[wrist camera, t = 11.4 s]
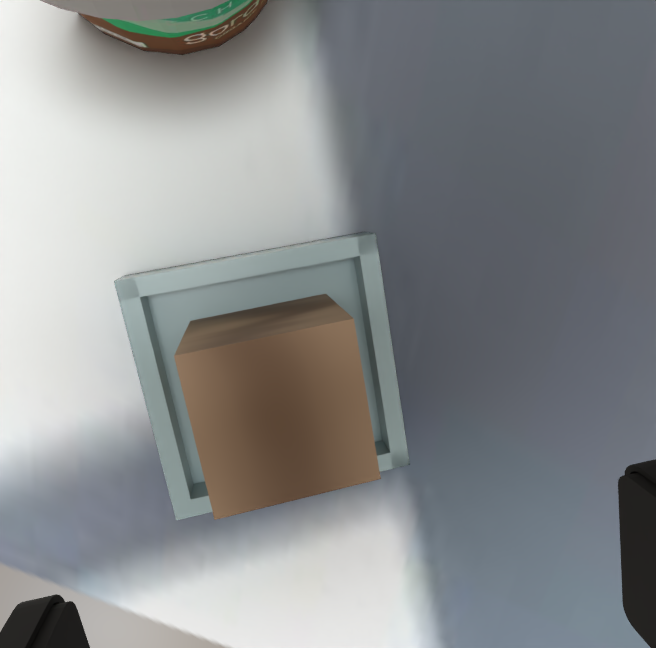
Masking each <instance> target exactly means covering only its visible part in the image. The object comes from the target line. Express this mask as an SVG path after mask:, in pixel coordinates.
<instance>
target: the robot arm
mask: <svg viewBox="0 0 656 648" xmlns="http://www.w3.org/2000/svg"><path fill="white" fill-rule="evenodd" d="M618 493H619V519H620V544H621V570H622V595H623V607H624V611H625V614H626V616H627V618H628V620H629V622H630V623H631V625H632V626H633V628H634V629H635V630H636V631H637V632H638V634H639V635H640V636H641V637H642V638H643V639H644V640H645V642H646V643H647V644H648V645H649V646H650V647H651V648H656V459H655V460H651V461H646V462H642V463H638V464H633V465H630V466H628V467H627V468H626V470H625V475H624V476H622V477H620V479H619V481H618ZM0 648H90V647H89V644H88V640H87V638H86V634H85V632H84V629H83V625H82V622H81V620H80V616H79V613H78V610H77V608H76V606H75V604H74V603H73V602H71V601H69V602H65V601H64V599H63V598H62V597H61V596H60V595H52V596H48V597H43V598H39V599H34V600H30V601H25V602H22V603H20V604H18V605H17V606H16V607H15V609H14V610H13V612H12V614H11V615H10V617H9V618H8V620H7V622H6V623H5V625H4V627H3V628H2V630H1V632H0Z"/></svg>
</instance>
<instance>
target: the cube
mask: <svg viewBox="0 0 656 648" xmlns="http://www.w3.org/2000/svg"><path fill="white" fill-rule="evenodd" d="M174 358H175V362H176V366H177V370H178V375H179V379H180V383H181V387H182V391H183V395H184V399H185V403H186V407H187V411H188V415H189V419H190V423H191V427H192V431H193V435H194V439H195V443H196V447H197V451H198V455H199V459H200V463H201V467H202V471H203V475H204V479H205V483H206V487H207V491H208V495H209V499H210V503H211V507H212V511H213V515H214V519H215V520H216V519H220V518H224V517H228V516H232V515H236V514H240V513H244V512H248V511H252V510H256V509H260V508H264V507H268V506H273V505H277V504H281V503H285V502H289V501H293V500H297V499H301V498H305V497H309V496H313V495H317V494H321V493H325V492H329V491H333V490H337V489H341V488H346V487H350V486H354V485H358V484H362V483H366V482H370V481H374V480H378V479H381V477H380V471H379V465H378V460H377V454H376V448H375V442H374V436H373V430H372V424H371V418H370V412H369V406H368V400H367V394H366V388H365V382H364V376H363V370H362V364H361V358H360V353H359V347H358V341H357V335H356V329H355V323H354V318H353V317H351V316H350V315H349V314H348V313H347V312H346V311H345V310H344V309H343V308H341V307H340V306H339V305H338V304H337V303H336V302H335V301H334V300H332V299H331V298H330V297H329V296H328V295H327V294H321V295H316V296H311V297H306V298H301V299H296V300H291V301H286V302H281V303H276V304H272V305H267V306H262V307H257V308H252V309H247V310H242V311H237V312H232V313H227V314H222V315H217V316H212V317H207V318H202V319H197V320H192V321H190V322H189V324H188V327H187V329H186V331H185V333H184V335H183V337H182V340H181V342H180V344H179V346H178V348H177V350H176V353H175V355H174Z"/></svg>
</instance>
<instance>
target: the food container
mask: <svg viewBox="0 0 656 648" xmlns="http://www.w3.org/2000/svg"><path fill="white" fill-rule="evenodd" d="M41 1H43V2H46V3H48V4H51V5H53V6H56V7H58V8H61V9H65V10H69V11H73V12H77V13H79V14H80V15H81V16H83V17H84V18H85V19H86V20H88V21H89V22H90V23H92V24H93V25H94V26H95V27H97V28H98V29H99V30H101V31H102V32H103V33H104V34H106V35H109V36H111V37H113V38H116V39H118V40H120V41H123V42H125V43H127V44H129V45H132V46H134V47H136V48H139V49H141V50H143V51H151V52H161V53H170V54H180V55H185V54H189V53H193V52H197V51H201V50H206V49H210V48H214V47H218V46H220V45H222V44H223V43H225V42H227V41H228V40H230V39H231V38H233V37H234V36H236V35H238V34H239V33H241V32H242V31H244V30H245V29H246V28H247V27H248V26H249V25H250V24H251V23H252V22H253V21H254V20H255V19H256V17H257V16H258V14H259V13H260V12H261V10H262V9H263V7H264V6H265V5H266V3H267V1H268V0H41Z"/></svg>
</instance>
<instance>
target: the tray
mask: <svg viewBox="0 0 656 648" xmlns="http://www.w3.org/2000/svg"><path fill="white" fill-rule="evenodd" d="M114 283H115V287H116V291H117V294H118V298H119V302H120V306H121V310H122V314H123V318H124V321H125V325H126V329H127V333H128V337H129V341H130V344H131V348H132V352H133V356H134V360H135V364H136V368H137V371H138V375H139V379H140V383H141V387H142V391H143V394H144V398H145V402H146V406H147V410H148V414H149V418H150V421H151V425H152V429H153V433H154V437H155V441H156V445H157V448H158V452H159V456H160V460H161V464H162V468H163V471H164V475H165V479H166V483H167V487H168V491H169V495H170V498H171V502H172V506H173V510H174V514H175V518H176V520H181V519H185V518H189V517H193V516H197V515H201V514H206V513H210V512H213V511H212V507H211V503H210V499H209V495H208V491H207V487H206V483H205V479H204V475H203V471H202V467H201V463H200V459H199V455H198V451H197V447H196V443H195V439H194V435H193V431H192V427H191V423H190V419H189V415H188V411H187V407H186V403H185V399H184V395H183V391H182V387H181V383H180V379H179V375H178V370H177V366H176V362H175V358H174V355H175V353H176V350H177V348H178V346H179V344H180V342H181V340H182V337H183V335H184V333H185V331H186V329H187V327H188V324H189V322H190V321H192V320H197V319H202V318H207V317H212V316H217V315H222V314H227V313H232V312H237V311H242V310H247V309H252V308H257V307H262V306H267V305H272V304H276V303H281V302H286V301H291V300H296V299H301V298H306V297H311V296H316V295H321V294H327V295H328V296H329V297H330V298H331V299H332V300H334V301H335V302H336V303H337V304H338V305H339V306H340V307H341V308H343V309H344V310H345V311H346V312H347V313H348V314H349V315H350V316H351V317H353V318H354V323H355V329H356V335H357V341H358V347H359V353H360V358H361V364H362V370H363V376H364V382H365V388H366V394H367V400H368V406H369V412H370V418H371V424H372V430H373V436H374V442H375V448H376V454H377V460H378V465H379V471H380V472H381V471H385V470H390V469H394V468H398V467H402V466H406V465H410V463H409V456H408V449H407V443H406V436H405V429H404V422H403V416H402V409H401V402H400V395H399V388H398V382H397V375H396V368H395V361H394V355H393V348H392V341H391V334H390V327H389V321H388V314H387V307H386V300H385V294H384V287H383V280H382V273H381V266H380V260H379V253H378V246H377V239H376V233H370V232H361V233H356V234H350V235H345V236H339V237H334V238H328V239H323V240H317V241H312V242H306V243H301V244H295V245H290V246H284V247H279V248H273V249H268V250H262V251H257V252H252V253H246V254H241V255H235V256H230V257H224V258H219V259H213V260H208V261H202V262H197V263H191V264H186V265H180V266H175V267H169V268H164V269H158V270H153V271H147V272H142V273H136V274H131V275H125V276H123V277H121V278H119V279H117V280H115V281H114Z"/></svg>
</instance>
